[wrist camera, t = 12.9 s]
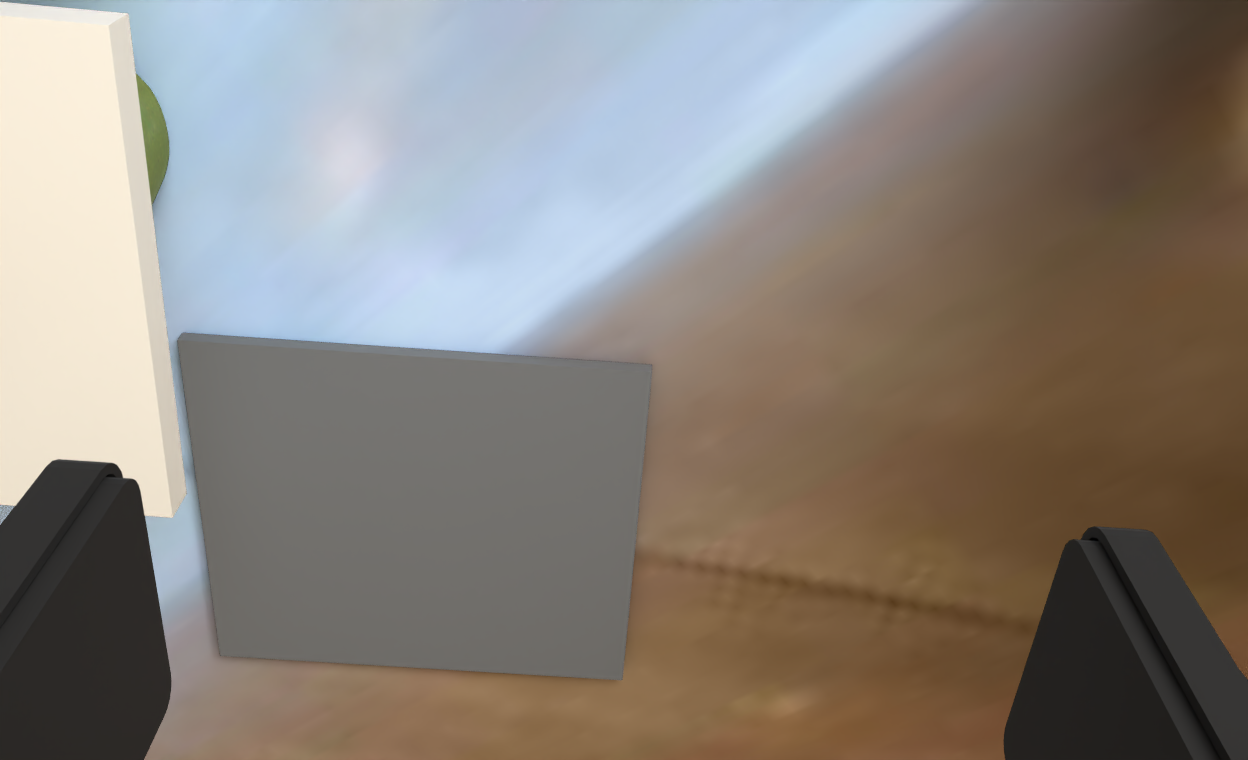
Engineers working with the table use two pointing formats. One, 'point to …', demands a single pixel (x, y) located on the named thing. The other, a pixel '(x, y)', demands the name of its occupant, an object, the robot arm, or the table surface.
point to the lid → (79, 260)
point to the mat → (417, 503)
